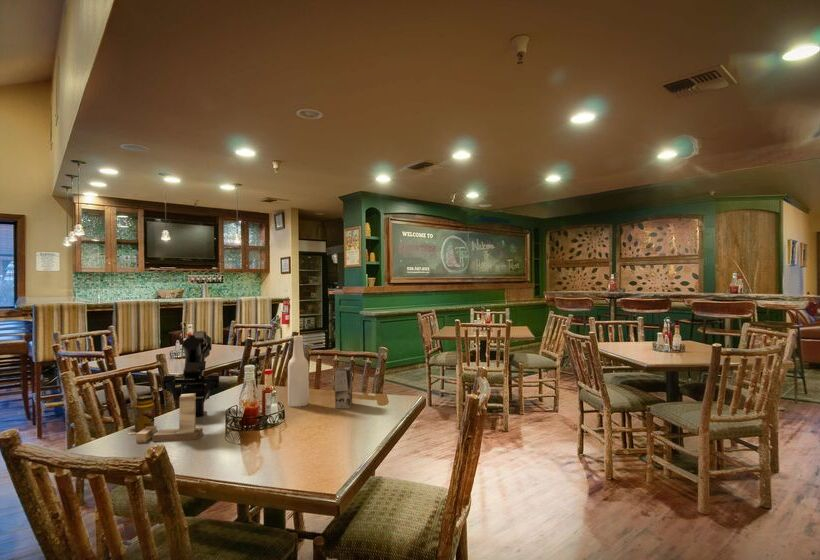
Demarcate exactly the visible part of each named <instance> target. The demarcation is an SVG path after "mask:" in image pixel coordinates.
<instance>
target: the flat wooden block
mask: <svg viewBox="0 0 820 560" xmlns="http://www.w3.org/2000/svg"><path fill="white" fill-rule="evenodd" d="M203 430H204V429H203V427H199V426H198V427H197V426H196V428H195V430H194V432H184V433H179V428H165V429H159V430H156V433H155V434H153V437H152V442H162V441H163V442H165V440H167V441H181V440H182V441H184V440H198V439H199V438H200V437H201V436H202V435H203V434H204V433H203Z"/></svg>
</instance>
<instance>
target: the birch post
mask: <svg viewBox="0 0 820 560" xmlns="http://www.w3.org/2000/svg"><path fill="white" fill-rule="evenodd" d="M178 414H179V428H178V429H179V433H184V432H194V430H195V428H197V426H196V424H197V423H196V393H192V394H184V393H183V394H180V396H179V413H178Z"/></svg>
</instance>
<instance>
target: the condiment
mask: <svg viewBox="0 0 820 560" xmlns="http://www.w3.org/2000/svg"><path fill="white" fill-rule="evenodd" d="M147 426H156V425H155V403H154V396H153V395H152V394H151V395H150V394H146V395H140V396H137V397H136V402H135V406H134V428H133V427H131V428H130V427H129V428H127V435H136V434H137V433H138V432H140V431H141V430H143V429H144V428H146V427H147Z"/></svg>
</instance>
